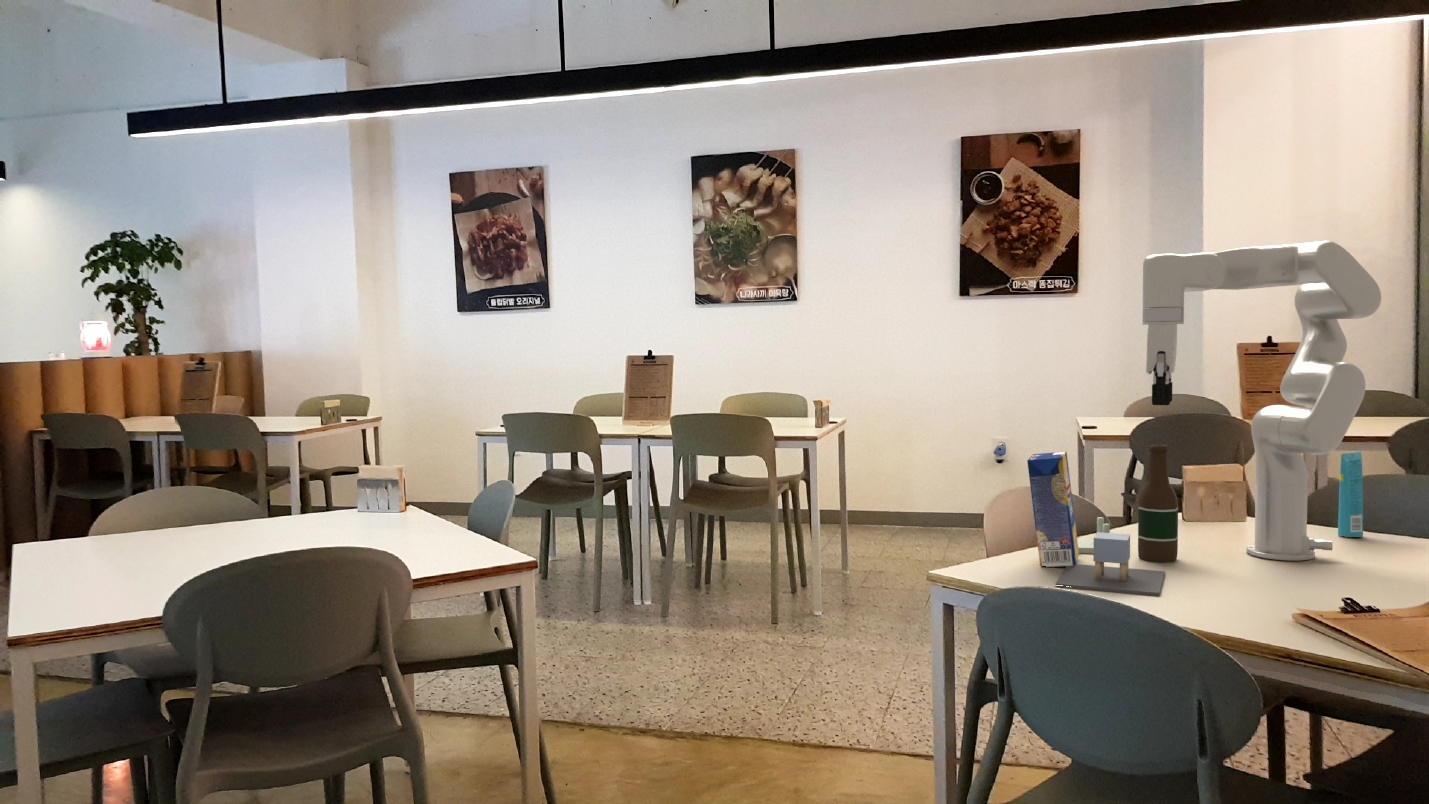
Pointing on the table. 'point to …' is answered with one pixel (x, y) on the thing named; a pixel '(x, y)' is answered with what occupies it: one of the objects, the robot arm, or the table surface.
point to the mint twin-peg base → (1088, 544)
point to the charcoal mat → (1112, 580)
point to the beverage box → (1053, 509)
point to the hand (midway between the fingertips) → (1162, 403)
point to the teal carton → (1351, 496)
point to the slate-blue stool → (1111, 552)
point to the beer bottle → (1158, 512)
